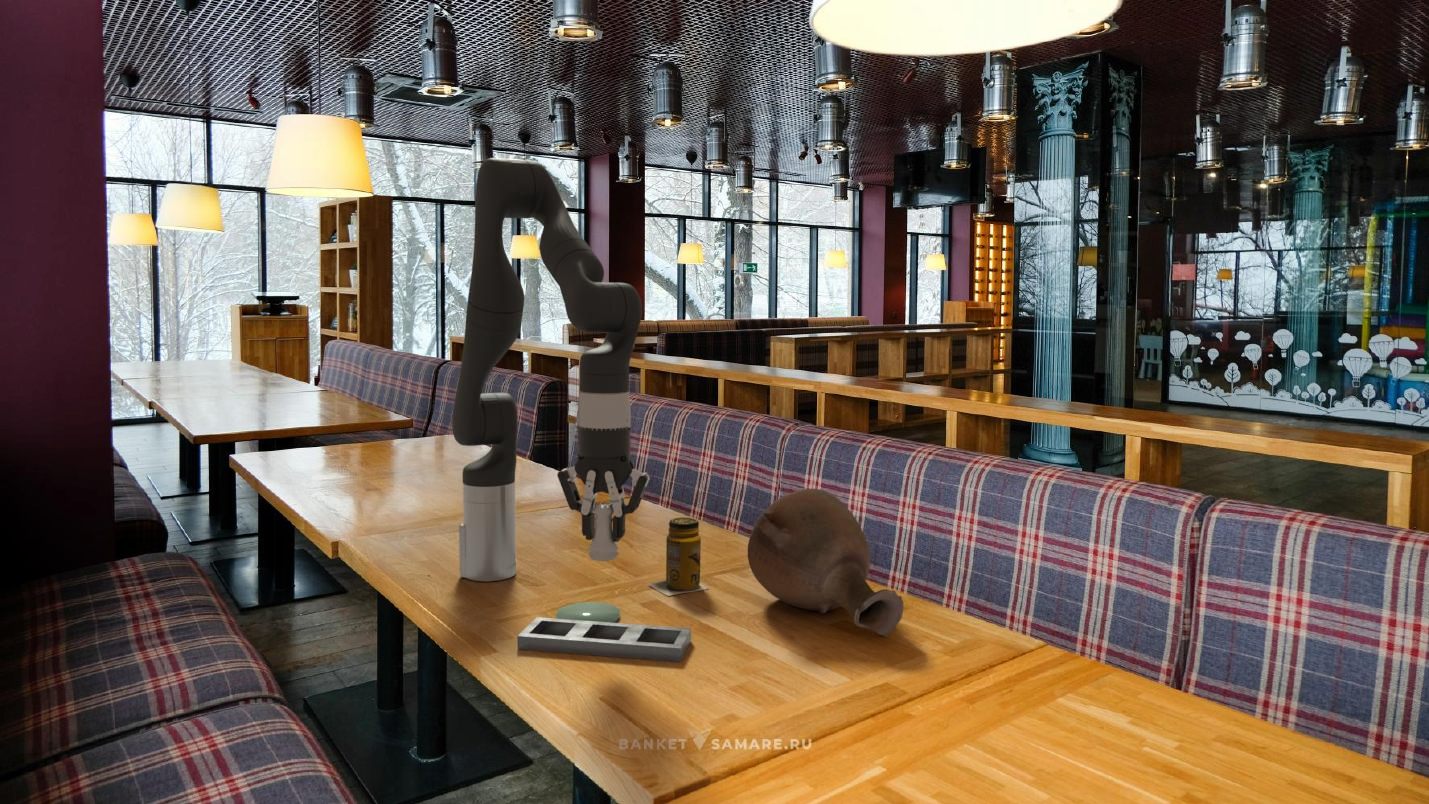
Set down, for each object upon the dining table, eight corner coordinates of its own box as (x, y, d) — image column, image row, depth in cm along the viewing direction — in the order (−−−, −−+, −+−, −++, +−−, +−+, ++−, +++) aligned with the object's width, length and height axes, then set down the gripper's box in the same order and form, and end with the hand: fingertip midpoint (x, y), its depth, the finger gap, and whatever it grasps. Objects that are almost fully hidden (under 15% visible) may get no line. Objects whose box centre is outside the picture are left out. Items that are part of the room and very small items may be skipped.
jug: (734, 590, 163) (827, 682, 137) (724, 489, 156) (820, 566, 130) (832, 555, 171) (937, 636, 145) (826, 458, 164) (936, 525, 138)
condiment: (709, 589, 163) (710, 522, 162) (668, 597, 159) (668, 528, 157) (687, 578, 169) (688, 513, 168) (647, 585, 165) (647, 519, 163)
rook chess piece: (588, 552, 138) (588, 500, 137) (619, 552, 138) (619, 500, 137) (587, 561, 133) (587, 507, 132) (618, 561, 134) (618, 507, 133)
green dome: (547, 625, 144) (547, 620, 144) (567, 604, 154) (567, 600, 154) (610, 630, 143) (610, 625, 142) (626, 608, 152) (626, 604, 152)
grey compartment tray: (517, 649, 134) (517, 635, 134) (536, 629, 142) (536, 617, 142) (680, 661, 131) (680, 648, 130) (691, 641, 138) (691, 628, 138)
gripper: (548, 424, 131) (548, 543, 133) (646, 428, 129) (644, 549, 131) (565, 417, 138) (565, 530, 140) (658, 421, 136) (656, 535, 138)
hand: (603, 538), depth 135 cm, fingers closed on rook chess piece, 3 cm apart
